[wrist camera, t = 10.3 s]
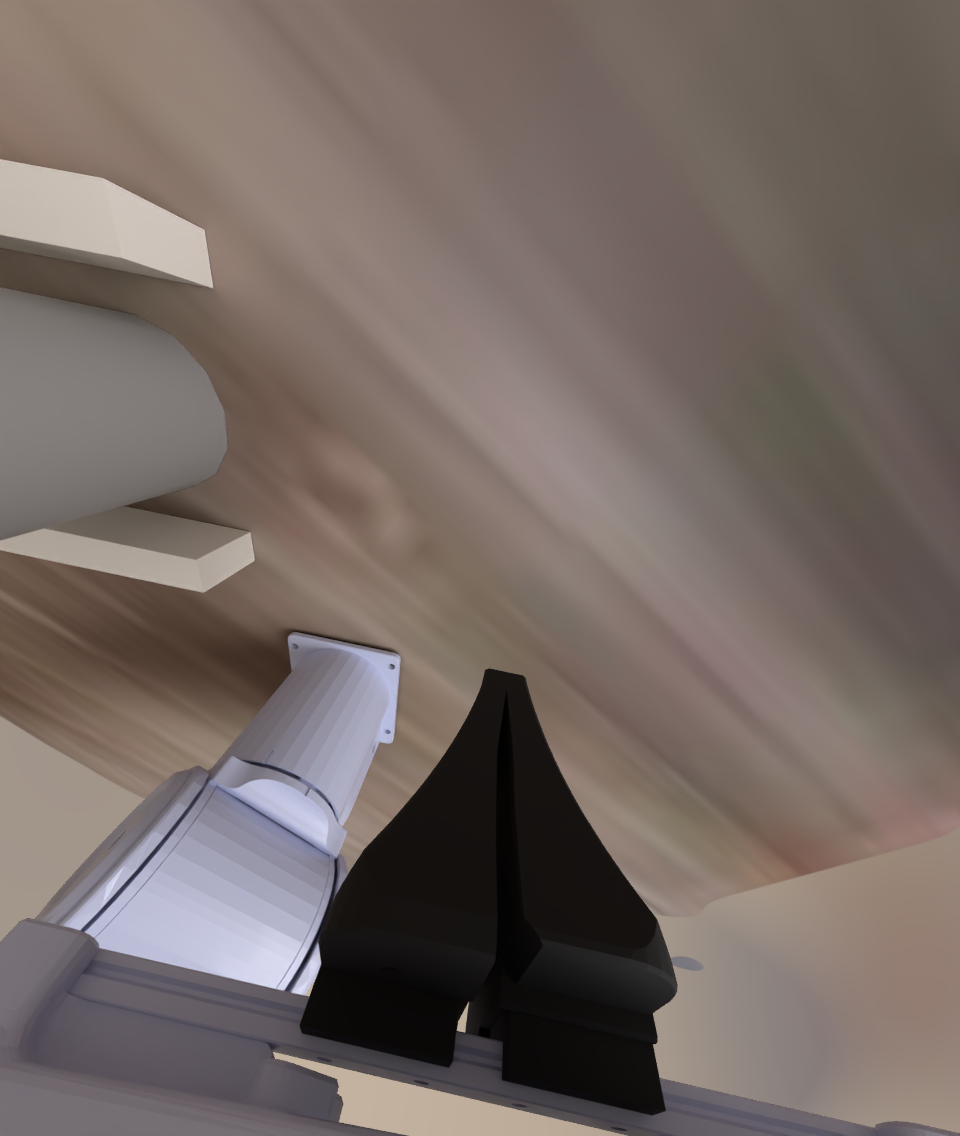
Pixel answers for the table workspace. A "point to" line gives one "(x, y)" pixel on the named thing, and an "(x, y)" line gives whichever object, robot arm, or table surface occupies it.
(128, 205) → the stall
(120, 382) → the cup
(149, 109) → the table surface
